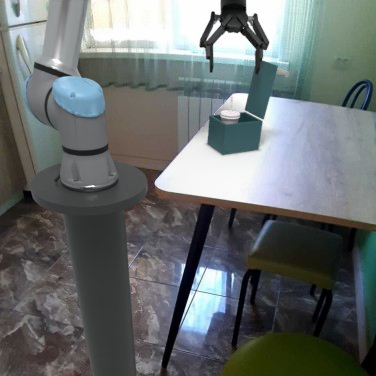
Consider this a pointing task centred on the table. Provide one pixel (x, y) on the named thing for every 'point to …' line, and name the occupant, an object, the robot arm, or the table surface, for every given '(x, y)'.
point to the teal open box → (234, 134)
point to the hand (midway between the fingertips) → (234, 70)
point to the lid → (262, 88)
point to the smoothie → (229, 115)
